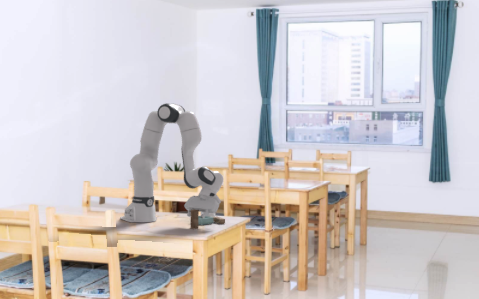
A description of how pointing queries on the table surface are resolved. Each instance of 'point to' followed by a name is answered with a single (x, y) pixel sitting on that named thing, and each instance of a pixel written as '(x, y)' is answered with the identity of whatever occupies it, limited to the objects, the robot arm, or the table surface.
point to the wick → (218, 220)
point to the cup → (205, 220)
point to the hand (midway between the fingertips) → (195, 216)
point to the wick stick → (194, 218)
